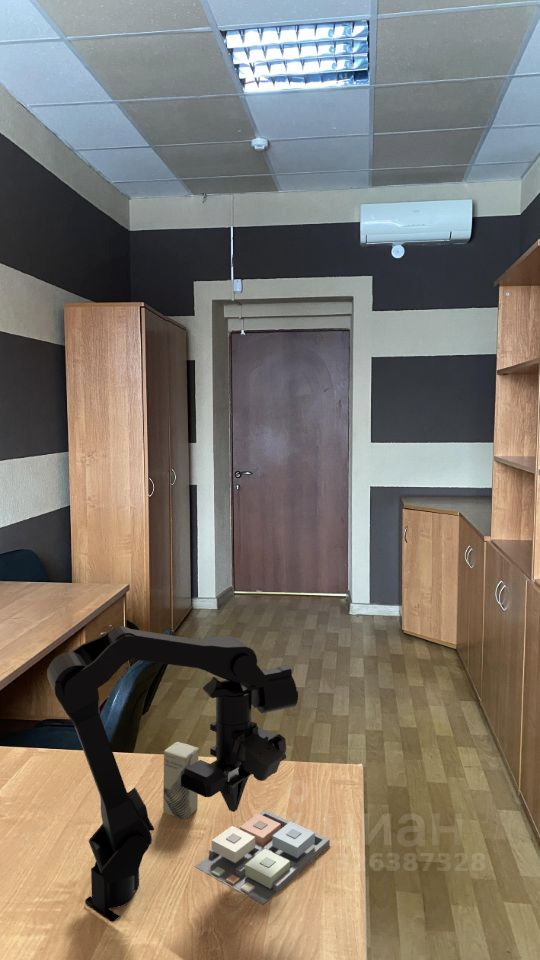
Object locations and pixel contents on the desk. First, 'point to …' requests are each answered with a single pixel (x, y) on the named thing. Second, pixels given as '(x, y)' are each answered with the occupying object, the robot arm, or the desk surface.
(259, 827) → the key terracotta
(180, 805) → the box
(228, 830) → the key ivory
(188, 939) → the desk surface
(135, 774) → the desk surface
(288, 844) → the key slate
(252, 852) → the grey compartment tray
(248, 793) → the desk surface
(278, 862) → the key sage
